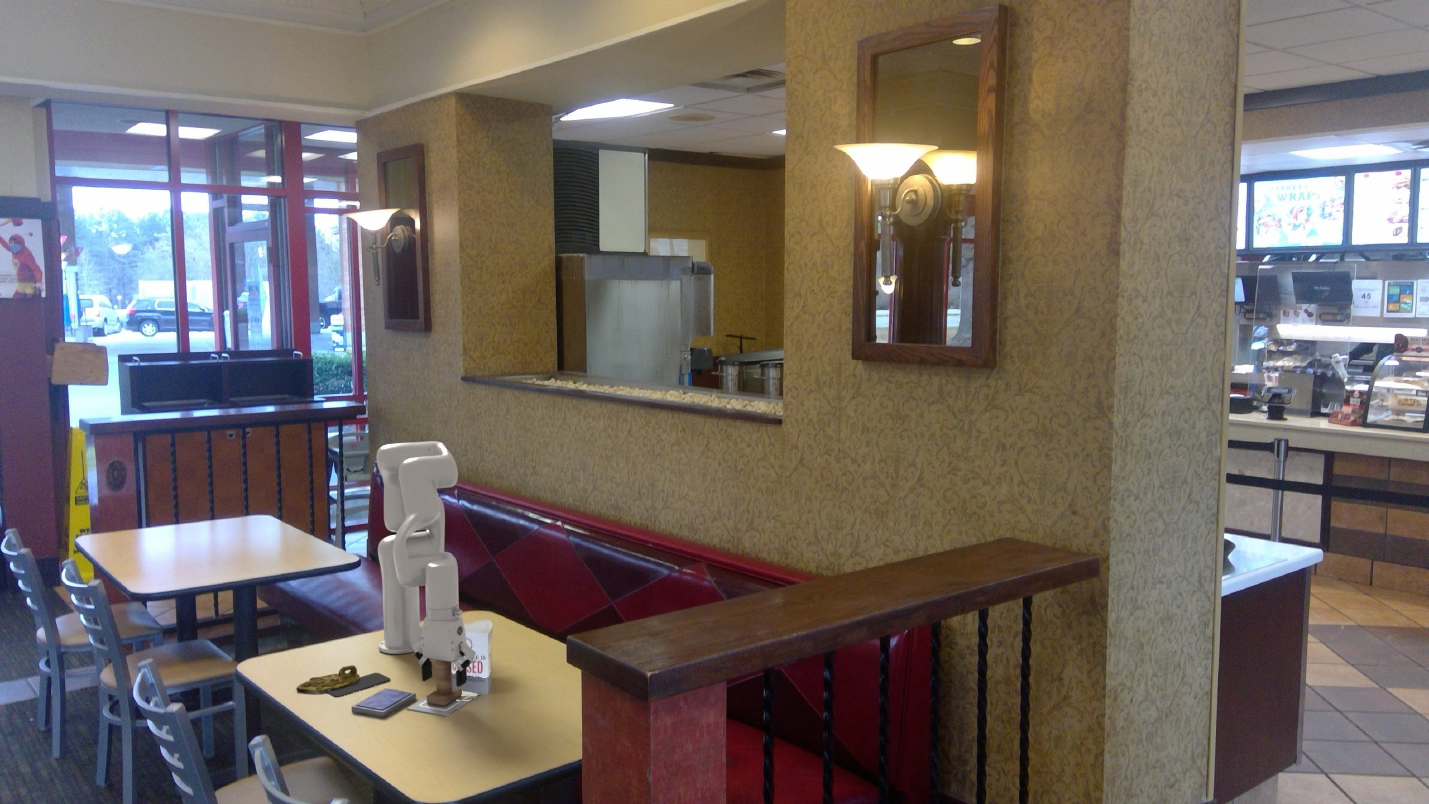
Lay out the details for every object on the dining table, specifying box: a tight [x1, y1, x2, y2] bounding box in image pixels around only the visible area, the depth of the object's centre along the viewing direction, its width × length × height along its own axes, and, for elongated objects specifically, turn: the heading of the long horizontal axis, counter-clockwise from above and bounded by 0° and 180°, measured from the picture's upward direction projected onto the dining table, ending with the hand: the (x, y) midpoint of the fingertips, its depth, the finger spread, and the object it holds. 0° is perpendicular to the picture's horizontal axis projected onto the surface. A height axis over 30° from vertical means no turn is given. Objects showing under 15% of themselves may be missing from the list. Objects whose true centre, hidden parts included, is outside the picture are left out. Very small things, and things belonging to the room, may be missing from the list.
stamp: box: [426, 660, 463, 707], centre depth 240 cm, size 7×5×11 cm
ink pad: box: [351, 687, 417, 719], centre depth 239 cm, size 12×9×2 cm
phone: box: [325, 672, 391, 698], centre depth 251 cm, size 7×1×15 cm
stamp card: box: [406, 695, 477, 717], centre depth 241 cm, size 14×11×1 cm
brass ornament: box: [295, 664, 361, 695], centre depth 251 cm, size 9×5×15 cm
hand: (444, 682), depth 241 cm, fingers open, 9 cm apart
